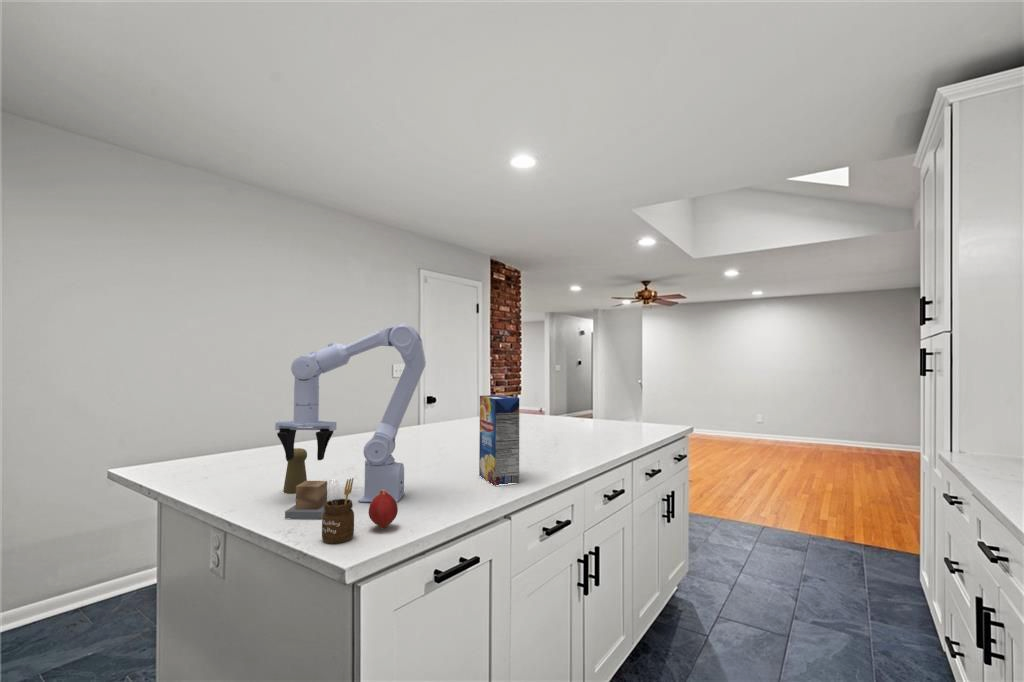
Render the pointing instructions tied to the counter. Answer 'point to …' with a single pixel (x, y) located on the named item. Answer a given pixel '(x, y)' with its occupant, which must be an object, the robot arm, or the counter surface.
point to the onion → (383, 509)
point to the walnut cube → (311, 494)
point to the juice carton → (499, 439)
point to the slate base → (304, 513)
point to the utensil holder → (338, 518)
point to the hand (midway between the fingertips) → (305, 459)
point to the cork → (295, 471)
